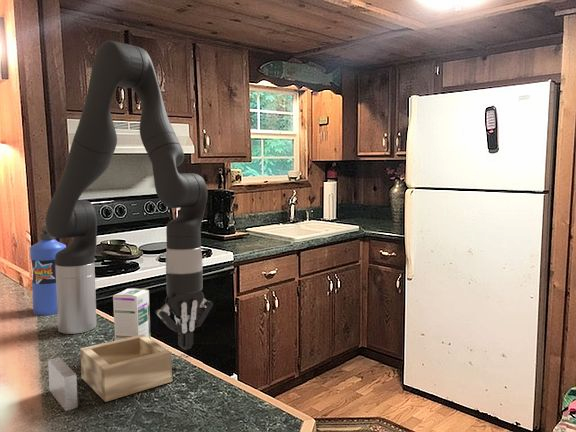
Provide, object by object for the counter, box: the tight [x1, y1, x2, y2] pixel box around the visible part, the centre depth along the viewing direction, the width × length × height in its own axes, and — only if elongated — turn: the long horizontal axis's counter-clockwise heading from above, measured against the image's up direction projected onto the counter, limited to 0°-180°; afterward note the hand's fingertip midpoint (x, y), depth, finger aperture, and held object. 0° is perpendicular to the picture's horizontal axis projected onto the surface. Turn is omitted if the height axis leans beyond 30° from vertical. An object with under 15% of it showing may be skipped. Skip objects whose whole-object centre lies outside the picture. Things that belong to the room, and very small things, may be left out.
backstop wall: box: [47, 356, 79, 412], centre depth 88 cm, size 10×2×6 cm, turn 41°
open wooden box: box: [80, 334, 173, 403], centre depth 95 cm, size 13×13×6 cm
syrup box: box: [112, 288, 152, 341], centre depth 108 cm, size 6×6×14 cm
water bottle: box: [29, 224, 67, 316], centre depth 140 cm, size 9×9×25 cm
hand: (185, 348), depth 104 cm, fingers closed
